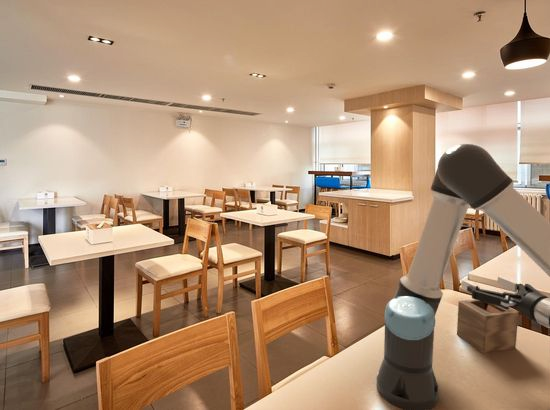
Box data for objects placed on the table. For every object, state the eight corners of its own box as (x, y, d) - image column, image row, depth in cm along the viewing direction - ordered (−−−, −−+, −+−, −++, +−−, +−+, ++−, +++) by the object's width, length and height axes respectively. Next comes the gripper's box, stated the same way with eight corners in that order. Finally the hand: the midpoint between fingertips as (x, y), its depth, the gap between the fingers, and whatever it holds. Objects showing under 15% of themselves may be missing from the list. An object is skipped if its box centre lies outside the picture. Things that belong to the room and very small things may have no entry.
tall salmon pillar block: (488, 340, 105) (500, 311, 104) (476, 332, 110) (488, 304, 109) (495, 342, 106) (508, 314, 105) (484, 334, 111) (495, 307, 110)
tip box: (482, 352, 102) (485, 316, 100) (456, 334, 112) (458, 301, 111) (515, 347, 104) (518, 311, 102) (487, 330, 115) (489, 297, 113)
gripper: (503, 329, 86) (446, 296, 107) (580, 318, 91) (511, 289, 111) (505, 301, 85) (447, 274, 106) (583, 292, 90) (513, 268, 110)
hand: (480, 282), depth 109 cm, fingers open, 13 cm apart
